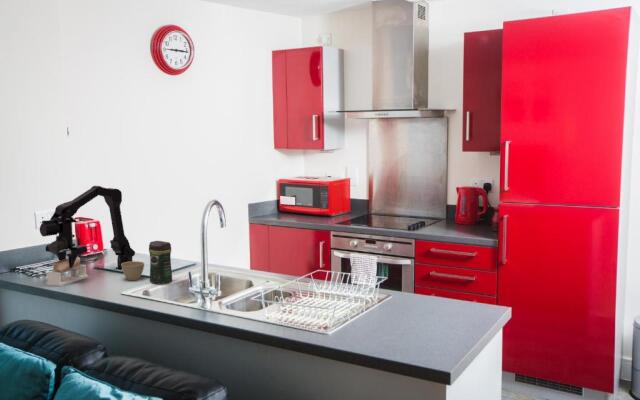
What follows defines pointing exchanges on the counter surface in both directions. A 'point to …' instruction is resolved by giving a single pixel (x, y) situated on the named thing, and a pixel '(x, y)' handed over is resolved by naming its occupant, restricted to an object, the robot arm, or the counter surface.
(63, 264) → the tan wooden bar
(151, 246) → the coffee jar
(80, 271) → the stand
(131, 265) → the flower pot
